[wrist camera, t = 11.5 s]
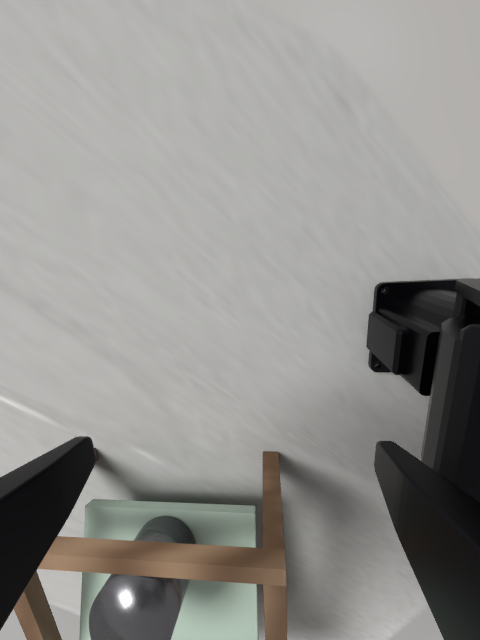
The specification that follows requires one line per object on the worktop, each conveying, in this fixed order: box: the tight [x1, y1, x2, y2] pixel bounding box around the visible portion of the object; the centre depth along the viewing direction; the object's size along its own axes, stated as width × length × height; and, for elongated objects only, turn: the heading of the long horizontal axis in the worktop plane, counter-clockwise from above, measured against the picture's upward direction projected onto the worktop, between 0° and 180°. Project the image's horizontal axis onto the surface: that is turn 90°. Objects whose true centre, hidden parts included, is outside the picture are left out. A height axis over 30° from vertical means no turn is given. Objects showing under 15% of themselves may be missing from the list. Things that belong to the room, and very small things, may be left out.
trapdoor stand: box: [14, 448, 287, 640], centre depth 22 cm, size 18×18×8 cm
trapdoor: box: [80, 499, 258, 640], centre depth 21 cm, size 14×14×1 cm
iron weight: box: [89, 516, 196, 640], centre depth 18 cm, size 5×5×6 cm
